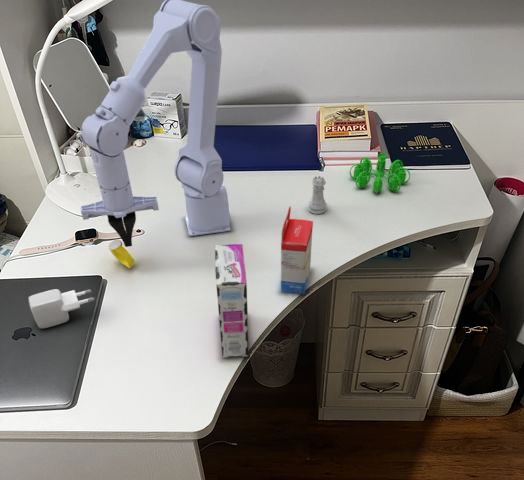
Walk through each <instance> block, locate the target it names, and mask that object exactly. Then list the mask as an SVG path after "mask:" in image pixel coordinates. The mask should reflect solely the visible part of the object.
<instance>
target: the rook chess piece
mask: <svg viewBox="0 0 524 480" xmlns="http://www.w3.org/2000/svg"><path fill="white" fill-rule="evenodd" d="M326 183H327V182H326V181H325V177H324V176H321V175H318V176H316V175H315V176H314V177H313V179H312V181H311V185H312V189H311V190H312V193H311V194H312V195H311V198H310V200H309V201H308V204H307V210H308V211H309V212H310V213H311V214H313V215H322V214H324V213H325V212H326V210H327V202H326V200H325V197H324V190H325V185H326Z"/></svg>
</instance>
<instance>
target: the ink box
mask: <svg viewBox="0 0 524 480" xmlns="http://www.w3.org/2000/svg"><path fill="white" fill-rule="evenodd" d="M291 209H292V207H291V205H289V207H288V210H287V213H286V216H285V219H284V221H283V225H282V228H281V239H280V292H281V293H285V294H286V293H288V294H296V295H305V294H306V290H307V287H308V286H307V285H308V281H309V276H310V273H311V260H312V244H313V243H312V242H313V226H314V221H313V220H308V219H297V218H291V212H292V211H291Z"/></svg>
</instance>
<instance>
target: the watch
mask: <svg viewBox="0 0 524 480" xmlns="http://www.w3.org/2000/svg"><path fill="white" fill-rule="evenodd" d="M108 250H110V252H111V254H112V255H113V257H114V258H115V259H116V260H117V261H118V262H119V263H120V264H121V265H124V267H127V269H131V268H132V267H133V266H134V265H135V263H136V262H135V260H134V258H133V256H132V255H131V254H130V252H129V251H128V250H127V249H126V247H125V246H123V241H122V240H120V239H113V240H112V241H110V242H109V243H108Z"/></svg>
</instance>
